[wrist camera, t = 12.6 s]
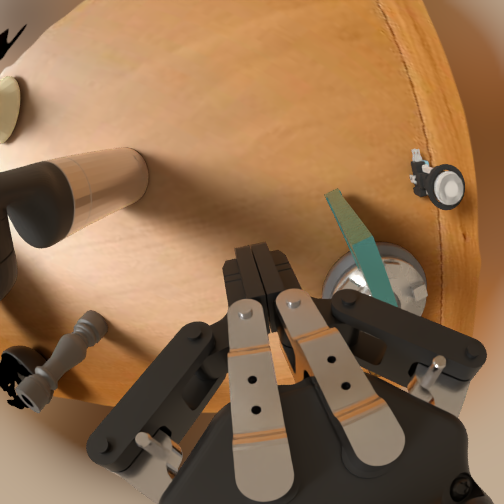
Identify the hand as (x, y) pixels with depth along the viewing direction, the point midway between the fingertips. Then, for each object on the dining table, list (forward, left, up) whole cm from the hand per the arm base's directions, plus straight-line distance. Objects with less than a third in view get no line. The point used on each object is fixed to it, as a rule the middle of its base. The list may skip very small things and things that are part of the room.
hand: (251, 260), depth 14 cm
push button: (+20, -3, -27) cm, 34 cm away
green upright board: (+9, -15, -25) cm, 30 cm away
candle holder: (-44, -15, -27) cm, 54 cm away
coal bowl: (-80, -25, -27) cm, 89 cm away
